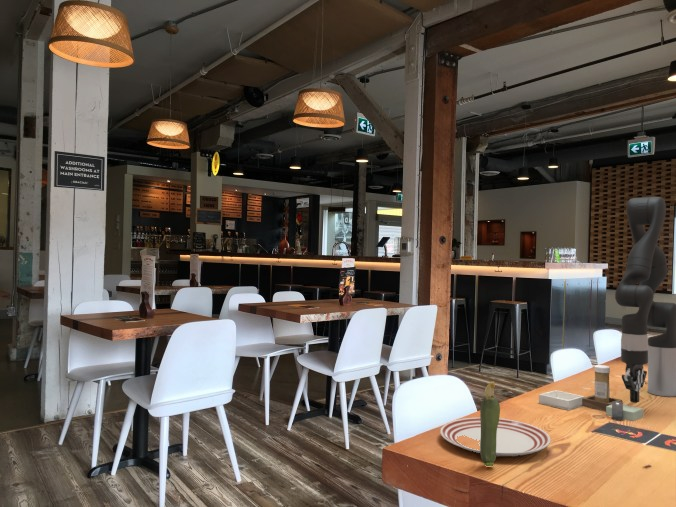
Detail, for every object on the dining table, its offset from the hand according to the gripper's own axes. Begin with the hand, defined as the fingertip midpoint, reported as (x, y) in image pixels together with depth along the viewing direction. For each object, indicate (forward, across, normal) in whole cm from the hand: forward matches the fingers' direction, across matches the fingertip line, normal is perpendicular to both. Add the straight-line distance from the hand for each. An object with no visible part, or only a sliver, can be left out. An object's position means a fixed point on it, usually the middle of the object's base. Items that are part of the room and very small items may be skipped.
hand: (634, 402), depth 168 cm
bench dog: (+3, +12, 0) cm, 12 cm away
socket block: (+3, +2, -9) cm, 10 cm away
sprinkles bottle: (+4, +2, -9) cm, 10 cm away
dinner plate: (+3, +61, -9) cm, 62 cm away
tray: (+3, +10, -19) cm, 22 cm away
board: (+4, +7, 0) cm, 8 cm away
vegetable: (+2, +75, 0) cm, 75 cm away
